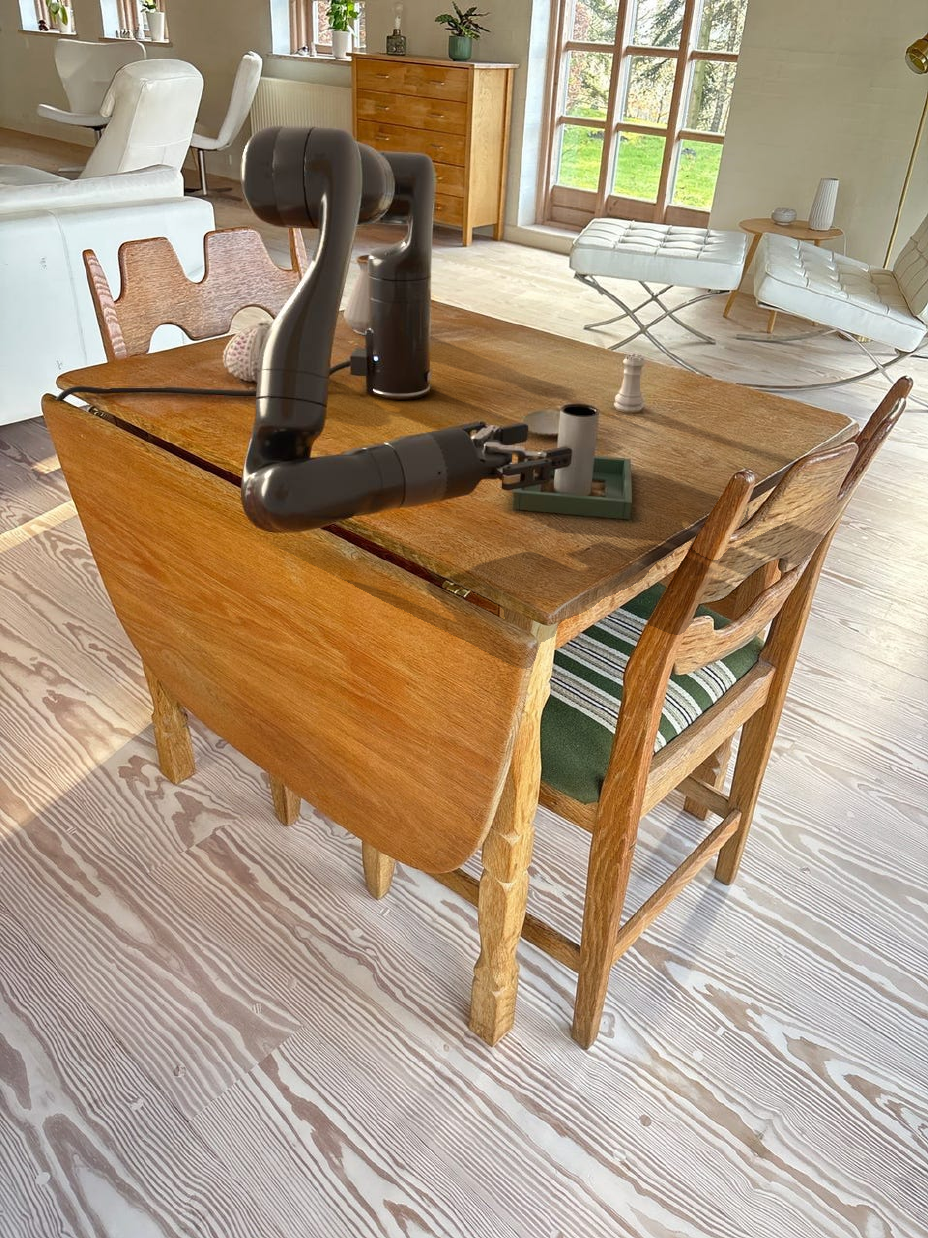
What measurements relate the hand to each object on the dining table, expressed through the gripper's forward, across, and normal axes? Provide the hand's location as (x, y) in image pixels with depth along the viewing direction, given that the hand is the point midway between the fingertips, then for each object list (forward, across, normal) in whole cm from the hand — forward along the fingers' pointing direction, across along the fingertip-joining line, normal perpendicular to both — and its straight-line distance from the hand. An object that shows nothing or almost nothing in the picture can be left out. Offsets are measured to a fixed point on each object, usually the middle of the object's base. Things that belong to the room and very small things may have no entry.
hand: (547, 443), depth 111 cm
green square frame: (+4, 0, +7) cm, 8 cm away
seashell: (+14, +18, +7) cm, 24 cm away
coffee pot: (+17, +71, +7) cm, 74 cm away
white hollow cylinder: (+4, 0, +7) cm, 8 cm away
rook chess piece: (+31, +21, +7) cm, 38 cm away
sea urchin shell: (-11, +60, +7) cm, 61 cm away
